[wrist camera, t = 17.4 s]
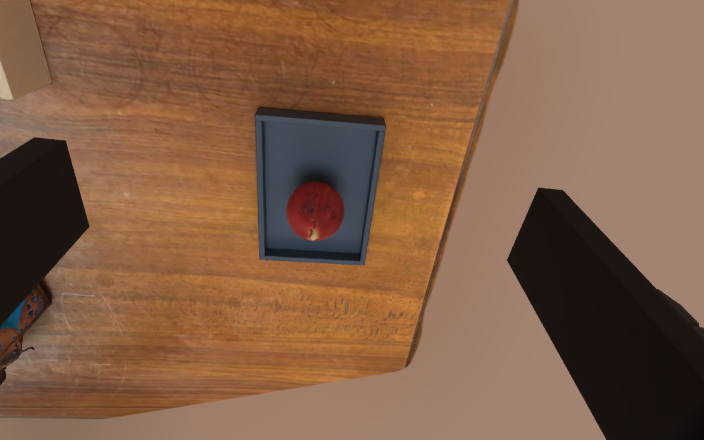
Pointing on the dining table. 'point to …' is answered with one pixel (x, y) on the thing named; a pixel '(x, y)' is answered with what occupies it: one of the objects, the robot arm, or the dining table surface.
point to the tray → (316, 165)
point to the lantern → (20, 327)
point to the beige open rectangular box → (20, 51)
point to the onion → (315, 211)
